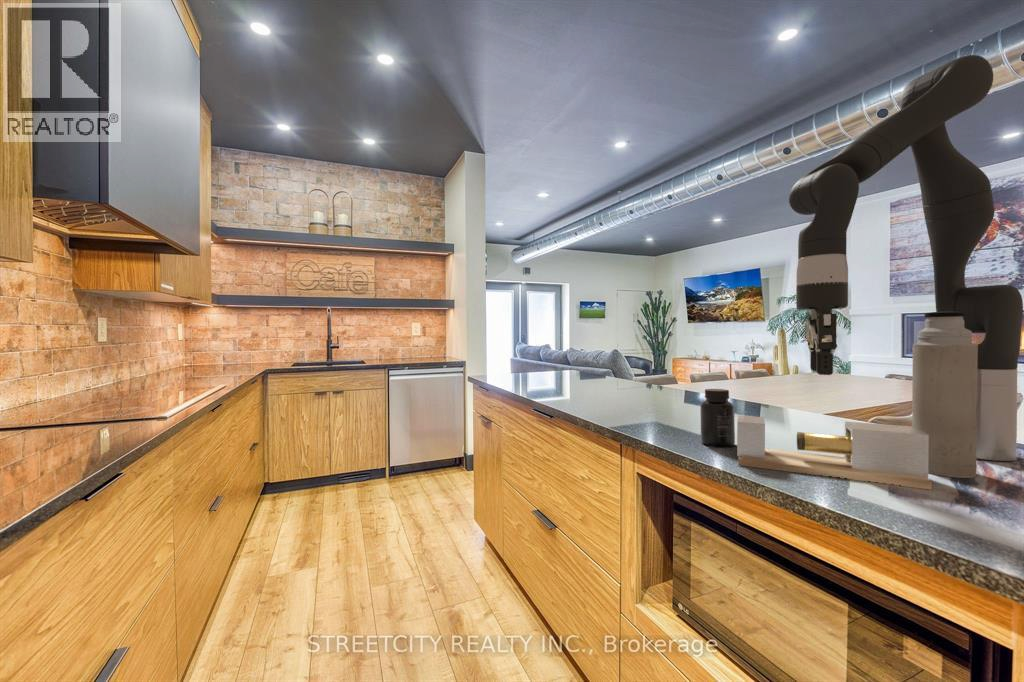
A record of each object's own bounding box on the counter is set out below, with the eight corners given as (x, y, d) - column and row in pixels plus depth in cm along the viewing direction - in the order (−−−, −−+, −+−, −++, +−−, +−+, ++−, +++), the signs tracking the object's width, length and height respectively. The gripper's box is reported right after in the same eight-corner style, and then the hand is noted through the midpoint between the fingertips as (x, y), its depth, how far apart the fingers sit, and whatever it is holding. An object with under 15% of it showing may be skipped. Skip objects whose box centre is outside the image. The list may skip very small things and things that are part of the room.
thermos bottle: (951, 464, 78) (952, 312, 78) (990, 479, 70) (992, 310, 70) (900, 462, 80) (901, 313, 79) (933, 476, 72) (935, 311, 71)
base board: (739, 451, 88) (739, 446, 88) (910, 471, 75) (910, 464, 75) (738, 465, 79) (738, 458, 79) (931, 489, 66) (931, 482, 66)
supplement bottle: (736, 442, 95) (736, 388, 95) (733, 449, 90) (733, 392, 89) (702, 438, 99) (702, 387, 99) (698, 445, 93) (698, 390, 93)
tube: (909, 459, 72) (909, 440, 72) (915, 464, 69) (915, 444, 69) (796, 447, 80) (796, 430, 80) (798, 451, 77) (798, 434, 77)
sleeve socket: (738, 447, 86) (738, 413, 86) (914, 466, 73) (914, 426, 73) (737, 456, 81) (737, 419, 80) (928, 478, 67) (928, 435, 67)
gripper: (856, 276, 68) (855, 377, 69) (840, 285, 81) (839, 370, 81) (800, 279, 72) (799, 375, 72) (793, 287, 84) (792, 369, 85)
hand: (820, 372), depth 77 cm, fingers open, 8 cm apart
